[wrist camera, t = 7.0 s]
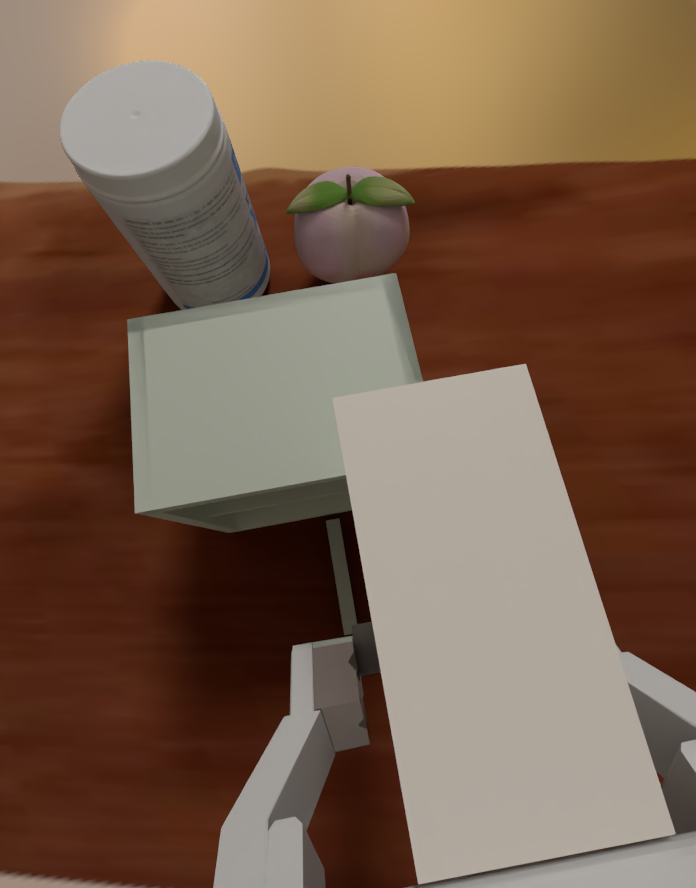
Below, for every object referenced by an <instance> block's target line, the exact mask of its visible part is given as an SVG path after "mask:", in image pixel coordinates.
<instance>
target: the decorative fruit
mask: <svg viewBox="0 0 696 888" xmlns="http://www.w3.org/2000/svg"><path fill="white" fill-rule="evenodd" d="M414 203H415V201H414V200H413V198H412V197H411V195H410V194H409V193H408V192H407V191H406V190H405V189H404V188H403V187H402V186H400V185H399V184H397V183H396V182H394V181H392V180H390V179H387V178H385V177H383V176H382V175H381V174H379V173H377V172H375V171H373V170H370V169H368V168H364V167H358V166H350V167H342V168H337V169H334V170H331V171H328V172H326V173H324V174H322V175H320V176H319V177H317V178H316V179H315V180H314V181H313V182H312V183H310V184H309V186H308V187H307V188H305V189H304V190H303V191H301V192H300V193H299V194H298V195H297V196H296V197H295V198H294V200H293V201H292V202H291V204H290V205H289V207H288V209H287V211H286V213H287V214H296V215H295V226H294V234H295V244H296V250H297V254H298V257H299V259H300V261H301V263H302V264H303V266H304V267H305V268H306V269H307V270H308V271H309V272H310V273H311V274H312V275H314V276H315V277H317V278H319V279H321V280H324V281H326V282H330V283H334V284H335V283H341V282H347V281H352V280H358V279H364V278H370V277H376V276H380V275H382V274H383V273H385V272H386V271H388V270H389V269H390V268H391V267H393V266H394V265H395V264H396V263H397V262H398V261H399V260H400V258H401V257H402V256H403V254H404V252H405V250H406V248H407V245H408V241H409V220H408V215H407V211H406V207H405V206H406V205H411V204H414Z"/></svg>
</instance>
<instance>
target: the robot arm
mask: <svg viewBox="0 0 696 888" xmlns="http://www.w3.org/2000/svg"><path fill="white" fill-rule="evenodd" d="M615 645H616V644H615ZM616 648H617V651H618V654H619V657H620V661H621V664H622V667H623V670H624V673H625V676H626V679H627V682H628V686H629V689H630V692H631V695H632V698H633V701H634V704H635V708H636V711H637V714H638V717H639V720H640V723H641V726H642V729H643V733H644V736H645V739H646V742H647V745H648V748H649V751H650V754H651V758H652V761H653V764H654V767H655V770H656V771H657V772H658V773H659V774H660V775H661V776H663V777H664V778H665V779H664V781H663V783H662V785H661V789H662V792H663V795H664V798H665V801H666V805H667V808H668V811H669V814H670V817H671V820H672V823H673V827H674V830H675V833H676V834H675V835H672V836H667V837H662V838H657V839H652V840H646V841H641V842H636V843H631V844H626V845H621V846H616V847H611V848H605V849H600V850H595V851H590V852H585V853H580V854H575V855H570V856H565V857H559V858H554V859H549V860H544V861H539V862H534V863H529V864H524V865H518V866H513V867H508V868H503V869H498V870H493V871H488V872H483V873H478V874H472V875H467V876H462V877H457V878H452V879H447V880H442V881H437V882H431V883H426V884H421V885H416V886H411V887H406V888H696V692H694V691H693V690H691V689H689V688H688V687H686V686H684V685H683V684H681V683H679V682H678V681H676V680H674V679H673V678H671V677H669V676H668V675H666V674H664V673H663V672H661V671H659V670H658V669H656V668H654V667H653V666H651V665H649V664H648V663H646V662H644V661H643V660H641V659H639V658H638V657H636V656H634V655H633V654H631V653H629V652H621V651H620V650H619V648H618V647H617V646H616ZM363 696H364V693H363V686H362V679H361V675H360V671H359V668H358V666H357V658H356V651H355V644H354V640H353V636H347V637H341V638H335V639H329V640H323V641H317V642H311V643H305V644H300V645H295V646H293V648H292V652H291V688H290V715H289V716H285V717H283V719H282V721H281V723H280V724H279V726H278V728H277V730H276V732H275V733H274V735H273V737H272V739H271V740H270V742H269V744H268V746H267V748H266V749H265V751H264V753H263V755H262V756H261V758H260V760H259V762H258V764H257V765H256V767H255V769H254V771H253V773H252V774H251V776H250V778H249V780H248V781H247V783H246V785H245V787H244V789H243V790H242V792H241V794H240V796H239V797H238V799H237V801H236V803H235V805H234V806H233V808H232V810H231V812H230V814H229V815H228V817H227V819H226V821H225V822H224V824H223V826H222V828H221V834H220V842H219V849H218V857H217V864H216V872H215V879H214V887H213V888H325V869H324V867H323V865H322V863H321V861H320V859H319V857H318V855H317V853H316V851H315V849H314V847H313V844H312V842H311V840H310V838H309V836H308V834H307V832H306V831H307V828H308V826H309V823H310V820H311V818H312V815H313V812H314V810H315V807H316V805H317V802H318V799H319V797H320V794H321V791H322V789H323V786H324V783H325V781H326V778H327V775H328V773H329V770H330V767H331V765H332V762H333V760H334V757H335V752H337V751H342V750H346V749H351V748H355V747H360V746H364V745H369V744H370V740H369V732H368V724H367V716H366V711H365V706H364V702H363Z"/></svg>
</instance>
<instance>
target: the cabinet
mask: <svg viewBox="0 0 696 888" xmlns="http://www.w3.org/2000/svg"><path fill="white" fill-rule="evenodd" d="M127 322H128V348H129V374H130V399H131V425H132V450H133V476H134V501H135V513H136V514H141V515H146V516H150V517H155V518H160V519H165V520H170V521H174V522H179V523H184V524H189V525H194V526H198V527H203V528H208V529H213V530H218V531H222V532H227V533H233V532H238V531H243V530H249V529H254V528H260V527H265V526H271V525H276V524H282V523H287V522H293V521H298V520H304V519H309V518H314V517H320V516H325V515H331V514H336V513H342V512H347V511H352V506H351V501H350V495H349V490H348V484H347V478H346V473H345V467H344V461H343V456H342V450H341V444H340V439H339V433H338V427H337V422H336V416H335V410H334V405H333V399H332V398H334V397H340V396H345V395H351V394H357V393H362V392H368V391H374V390H380V389H385V388H391V387H397V386H402V385H408V384H414V383H419V382H423V380H422V376H421V372H420V368H419V364H418V360H417V356H416V352H415V348H414V344H413V340H412V336H411V332H410V327H409V323H408V319H407V315H406V311H405V307H404V303H403V299H402V295H401V291H400V287H399V283H398V279H397V275H396V273H393V274H387V275H381V276H376V277H370V278H364V279H358V280H352V281H347V282H341V283H335V284H329V285H324V286H318V287H312V288H306V289H301V290H295V291H289V292H283V293H277V294H272V295H266V296H260V297H254V298H249V299H243V300H237V301H231V302H226V303H220V304H214V305H208V306H202V307H197V308H191V309H185V310H179V311H174V312H168V313H162V314H156V315H151V316H145V317H139V318H133V319H127ZM326 525H327V532H328V538H329V544H330V550H331V556H332V562H333V569H334V575H335V581H336V587H337V593H338V600H339V606H340V612H341V618H342V624H343V630H344V635H349V634H352V625H356V624H357V618H356V613H355V607H354V601H353V595H352V589H351V583H350V577H349V572H348V566H347V560H346V554H345V548H344V542H343V536H342V531H341V525H340V519H339V518H338V519H332V520H327V521H326Z"/></svg>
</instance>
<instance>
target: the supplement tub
mask: <svg viewBox="0 0 696 888" xmlns="http://www.w3.org/2000/svg"><path fill="white" fill-rule="evenodd" d="M60 140H61V144H62V147H63V149H64V151H65V153H66V155H67V156H68V158H69V159H70V160H71V162H72V164H73V165H74V167H75V169H76V172H77V173H78V175H79V177H80V178H81V180H82V181H83V182H84V183H85V185H86V186H87V188H88V189H89V190H90V192H91V193H92V194H93V196H94V197H95V199H96V200H97V201H98V203H99V204H100V205H101V207H102V208H103V209H104V211H105V212H106V213H107V215H108V216H109V217H110V219H111V220H112V221H113V223H114V224H115V225H116V227H117V228H118V229H119V231H120V232H121V233H122V235H123V236H124V237H125V239H126V240H127V241H128V243H129V244H130V245H131V247H132V248H133V249H134V251H135V252H136V253H137V254H138V256H139V257H140V258H141V260H142V261H143V262H144V264H145V265H146V266H147V268H148V269H149V270H150V272H151V273H152V274H153V276H154V277H155V278H156V280H157V281H158V282H159V284H160V285H161V286H162V288H163V289H164V290H165V292H166V293H167V294H168V295H169V297H170V298H171V299H172V301H173V302H174V303H175V304H176V305H177V306H178V307H179V308H180V309H181V310H185V309H191V308H197V307H202V306H208V305H214V304H220V303H226V302H231V301H237V300H243V299H249V298H254V297H260V296H262V294H263V293H264V291H265V289H266V287H267V284H268V281H269V276H270V263H269V258H268V255H267V251H266V248H265V245H264V242H263V239H262V236H261V233H260V230H259V227H258V223H257V220H256V217H255V214H254V211H253V208H252V205H251V202H250V199H249V196H248V193H247V190H246V187H245V184H244V181H243V178H242V174H241V171H240V168H239V165H238V162H237V159H236V156H235V153H234V150H233V148H232V144H231V141H230V138H229V136H228V133H227V130H226V127H225V124H224V122H223V119H222V116H221V114H220V112H219V110H218V108H217V107H216V105H215V102H214V99H213V97H212V94H211V92H210V90H209V88H208V86H207V85H206V84H205V83H204V81H203V80H202V79H201V78H200V77H199V76H198V75H196V74H195V73H193V72H192V71H190V70H188V69H187V68H184V67H182V66H180V65H176V64H173V63H169V62H163V61H139V62H133V63H128V64H124V65H120V66H118V67H115V68H112V69H110V70H107V71H105V72H103V73H101V74H100V75H98V76H96V77H94V78H93V79H91V80H90V81H89V82H87V83H86V84H85V85H84V86H82V87H81V88H80V89H79V90H78V91H77V93H76V94H75V95H74V96H73V97H72V99H71V100H70V101H69V103H68V104H67V106H66V108H65V110H64V113H63V115H62V118H61V124H60Z"/></svg>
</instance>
